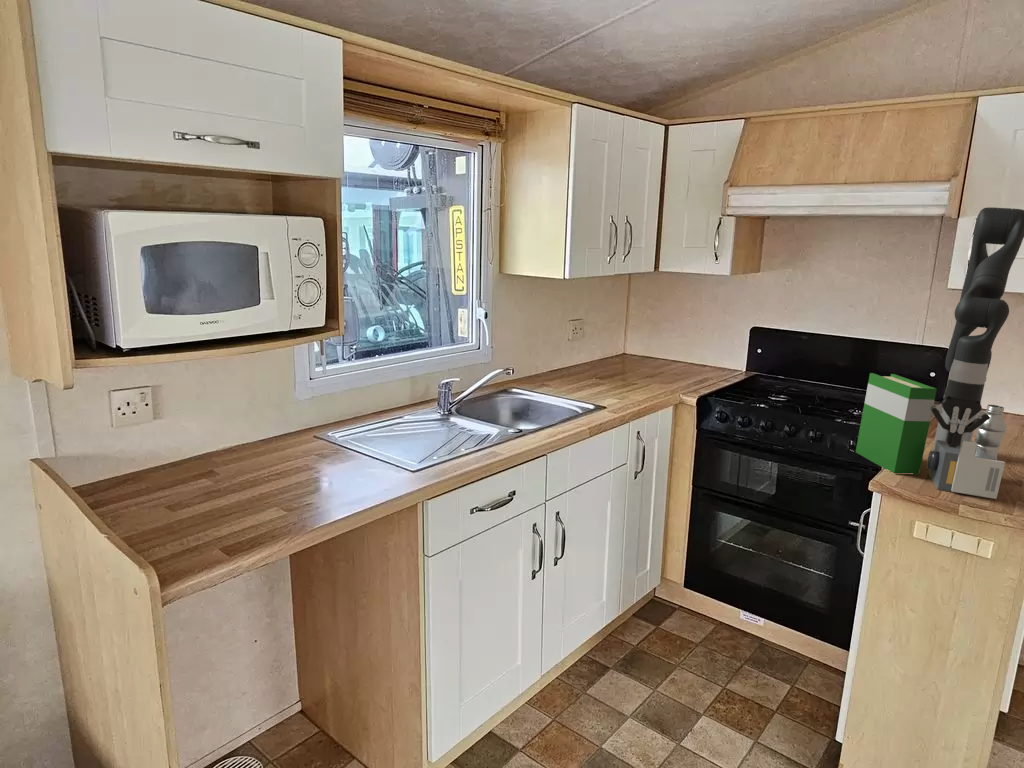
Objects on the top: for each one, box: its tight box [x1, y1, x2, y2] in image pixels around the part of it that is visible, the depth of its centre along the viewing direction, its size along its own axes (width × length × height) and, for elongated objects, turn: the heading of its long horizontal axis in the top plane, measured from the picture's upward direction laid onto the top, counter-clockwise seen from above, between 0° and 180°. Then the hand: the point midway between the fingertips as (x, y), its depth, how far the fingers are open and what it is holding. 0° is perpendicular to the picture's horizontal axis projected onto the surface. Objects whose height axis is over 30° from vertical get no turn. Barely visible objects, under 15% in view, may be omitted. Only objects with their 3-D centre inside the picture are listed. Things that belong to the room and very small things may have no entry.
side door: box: [951, 440, 1006, 500], centre depth 170 cm, size 1×10×14 cm, turn 68°
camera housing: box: [926, 440, 992, 498], centre depth 178 cm, size 12×12×11 cm
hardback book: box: [855, 372, 937, 475], centre depth 192 cm, size 18×7×24 cm, turn 6°
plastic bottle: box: [974, 404, 1007, 461], centre depth 185 cm, size 6×7×20 cm
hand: (952, 446), depth 172 cm, fingers closed
